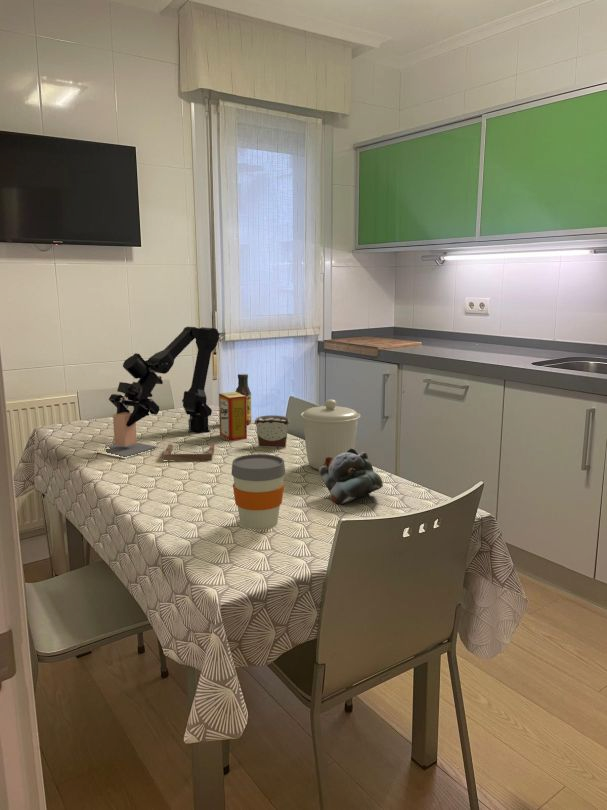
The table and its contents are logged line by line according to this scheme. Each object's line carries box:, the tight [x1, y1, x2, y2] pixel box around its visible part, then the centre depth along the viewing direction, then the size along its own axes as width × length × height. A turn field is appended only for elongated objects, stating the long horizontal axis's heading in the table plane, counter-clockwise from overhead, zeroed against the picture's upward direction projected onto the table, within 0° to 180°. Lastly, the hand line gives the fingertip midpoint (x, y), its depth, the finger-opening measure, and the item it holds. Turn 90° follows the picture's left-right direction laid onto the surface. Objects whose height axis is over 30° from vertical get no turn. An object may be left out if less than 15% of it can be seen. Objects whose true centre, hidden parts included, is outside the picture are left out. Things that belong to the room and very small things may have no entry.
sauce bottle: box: [235, 373, 252, 425], centre depth 245 cm, size 7×6×20 cm
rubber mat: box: [104, 442, 157, 457], centre depth 206 cm, size 14×14×1 cm
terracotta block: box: [112, 412, 138, 446], centre depth 205 cm, size 5×5×10 cm
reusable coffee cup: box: [231, 453, 286, 530], centre depth 145 cm, size 12×13×15 cm
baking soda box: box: [218, 391, 248, 442], centre depth 224 cm, size 10×6×16 cm
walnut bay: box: [162, 443, 215, 462], centre depth 201 cm, size 13×15×2 cm
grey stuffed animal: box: [318, 448, 384, 506], centre depth 163 cm, size 15×12×14 cm
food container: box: [254, 414, 291, 449], centre depth 214 cm, size 12×6×10 cm, turn 84°
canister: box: [300, 399, 361, 471], centre depth 188 cm, size 18×18×21 cm
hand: (121, 425), depth 203 cm, fingers closed on terracotta block, 5 cm apart
